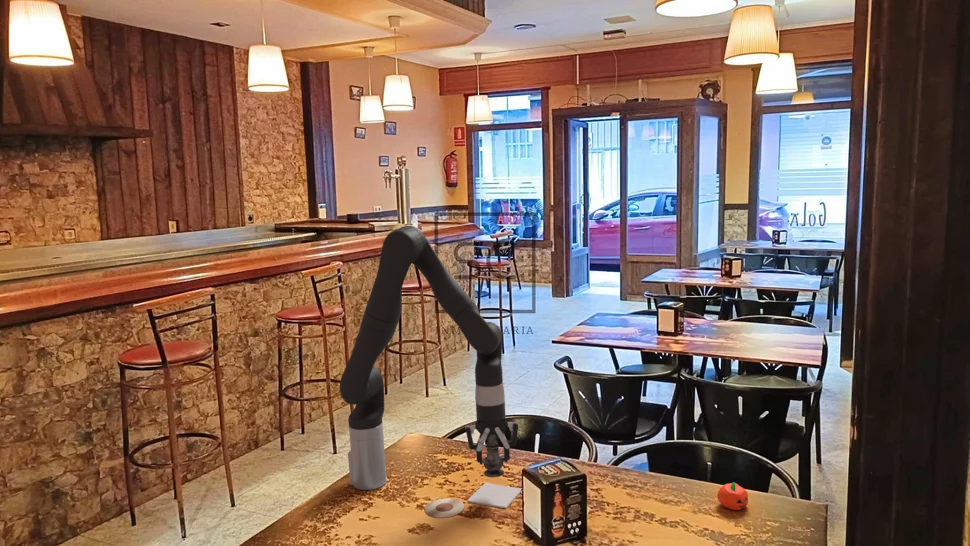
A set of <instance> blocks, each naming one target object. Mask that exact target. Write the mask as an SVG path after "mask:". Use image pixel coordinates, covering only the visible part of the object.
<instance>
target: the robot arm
mask: <svg viewBox="0 0 970 546" xmlns="http://www.w3.org/2000/svg"><path fill="white" fill-rule="evenodd" d="M378 262H379V263H378V266H377V267H378V268H377V273H376V277H375V279H374V283H373V285H372V289H371V291H370V294H369V298H368V302H367V303H366V305H365V310H364V311H363V316H362V319H361V322H360V323H361V324H360V327H359V331H358V332H357V336H356V339H355V342H354V346H353V349H352V352H351V355H350V356H349V359H348V361H347V363H346V366H345V368H344V371H343V373H342V375H341V377H340V381H339V393H340V396H341V398H342V400H343V401H344V402H345V404H349V405H355V406H354V408H353V410H352V411H351V412H350V413H349V416H348V417H347V421H348V433H349V446H350V447H349V448H350V450H349V451H348V453H347V458H348V470H349V485H350V486H352V487H354V488H355V489H357V490H363V491H371V490H376V489H379V488H381V487H383V486H384V485H386V483H387V481H388V480H387V467H386V453H385V441H384V440H385V439H384V426H383V416H384V412H385V385H384V383H385V382H384V379H383V375H382V373H381V371H380V370H379V368H377V367H376V366H375V363H376V362H377V359H379V357H380V355H382V353H383V352H384V351H385V349H386V348H387V346H388V345H389V344H390V342H391V340H392V339H393V337H394V335H395V333H396V330H397V327H398V324H399V321H400V317H401V314H402V308H403V307H402V306H403V299H402V297H403V296H402V293H403V285H404V282H405V279H406V276H407V273H408V271H409V269H410V268H411V265H412V266H414V267H415V268H417V270H418V271H420V273H421V274H422V275H423V277H424V278H425V280H426V281H427V282H428V284H429V287H430V289H431V291H432V293H433V295H434V297H435V299H436V301H437V303H438V304H439V305H440V306H441V308H442V310H444V312H445V313H446V314H447V315H448V316H449V318H450V319H452V321H453V322H454V323H455V324H456V325H457V327H458V328H459V330H460V331H461V333H462V335H463V336H464V338H465V339H466V341H467V342H468V344H469V345H470V346H471V347H472V348H473V349H474V350H475V351H476V362H475V366H474V378H475V381H474V382H475V390H474V391H475V392H474V394H475V395H474V396H475V397H474V399H475V413H476V415H475V416H476V421H475V423H474V424H471V425H470V424H466V425H465V426H464V428H465V433H466V438H467V444H468V447H469V450H471V451H472V450H474V451H475V452H476V453H475V455H476V462H477V463H479V465H480V466H481V465H484V464H483V462H482V460H483V452H482V451H483V449H482V448H483V446H484V444H485V443H486V441H487V440H488V438H489V436H490V435H495V436H496V438H497V439H498V440H499V439H500V442H501V443H502V444H503V448H502V451H503V458H504V462H503V463H504V464H506V463H508V461H510V459H511V456H510V455H511V454H510V448H512V447H515V446H516V445H517V442H518V440H517V439H518V432H519V424H518V422H517V421H516V420H513V421H508V420H507V417H506V402H505V401H506V399H505V388H504V378H503V367H502V366H503V365H502V356H503V334H502V329H500V327H499V326H498V324H496V323H495V322H491V321H486V320H485V319H484V317H483V316H482V315H481V313H480V310H479V307H478V306H477V304H476V303H475V301H473V299H472V298H471V297H470V296H469V294H467V292H466V291H465V290H464V289H463V288H462V287H461V286H460V284H458V282H457V281H456V280H455V279H454V277H453V275H451V273H450V271H448V269H447V268H446V266H445V265H444V264H443V262H442V261H441V259H440V257H439V256H438V255H437V254H436V252H435V250H434V249H433V247H432V245H431V243H430V242H429V240H428V239H427V237H426V236H425V235H424V233H423V232H422V231H421V229H419V228H418V227H416V226H414V225H403V226H401V227H398V228H396V229H395V230H392V231H391V232H389V233H388V234H387V235H386V236H385V238H384V240H383V243H382V247H381V252H380V257H379V261H378ZM507 428H509V431H510V432H511V435H510V440H508V439H507V438H506V436H505V433H504V432H505V431H506V429H507ZM475 430H476V431H477V432H478V434H479V436H478V439H477V442H474V441H473V440H474V439H473V434H474V433H475Z"/></svg>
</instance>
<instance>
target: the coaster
mask: <svg viewBox="0 0 970 546" xmlns="http://www.w3.org/2000/svg"><path fill="white" fill-rule="evenodd" d="M464 509H465V505H464V503H463V502H462V501H461V500H459V499H456V498H450V497H449V498H446V497H445V498H438V499H435V500H432V501H429V503H427V504H426V505H425V508H424V511H425V513H426V514H427V515H428V516H429V517H433V518H437V519H438V518H440V519H443V518H451V517H455V516H457V515H459V514H460V513H462V512H463V510H464Z"/></svg>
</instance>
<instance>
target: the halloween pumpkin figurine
mask: <svg viewBox="0 0 970 546" xmlns="http://www.w3.org/2000/svg"><path fill="white" fill-rule="evenodd" d="M716 495H717V496H716V497H717V500H718V502H719V503H720V505H722V506H723V507H725V508H727V509H729V510H732V511H740V510H742V509H745V508H746V506H747V505H748V504H749V495H748V491H747V490H746V489H745V488H744V487H742V486H740V485H739V484H738V483H736V482H734V481H733V482H731V483H730V482H729V483H725V484H723V485H722V486H721V487H720V488H719V489H718V490H717V494H716Z"/></svg>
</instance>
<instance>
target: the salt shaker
mask: <svg viewBox="0 0 970 546" xmlns="http://www.w3.org/2000/svg"><path fill="white" fill-rule="evenodd" d="M485 448H486V456H485V457H482V462H483V464H482V465H483V466H484V468H485V469H486V470H485V471H483V475H484V476H485V477H487V478H498V477H501V476H504V474H505V471H504V470H503V469H502V467H503V466H504V463H505V462H504V456H501V455H500V452H499V448H500V444H499V438H498V439H497V438H496V436H495V435H490V436H489V438H488V440H487V439H486V445H485Z"/></svg>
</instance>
